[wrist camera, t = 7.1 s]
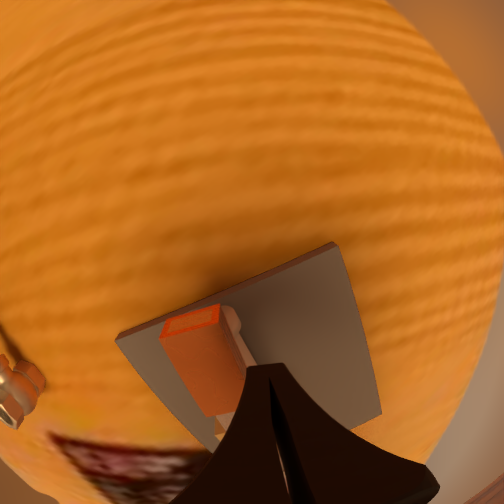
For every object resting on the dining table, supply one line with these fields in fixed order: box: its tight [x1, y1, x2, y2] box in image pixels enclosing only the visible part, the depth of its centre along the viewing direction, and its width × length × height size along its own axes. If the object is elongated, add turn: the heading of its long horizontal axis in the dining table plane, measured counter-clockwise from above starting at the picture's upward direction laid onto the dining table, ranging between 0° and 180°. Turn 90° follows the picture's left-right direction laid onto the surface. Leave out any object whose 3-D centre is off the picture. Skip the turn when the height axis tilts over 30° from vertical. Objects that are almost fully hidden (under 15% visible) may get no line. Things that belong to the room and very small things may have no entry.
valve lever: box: [159, 303, 284, 472], centre depth 12 cm, size 12×3×2 cm, turn 18°
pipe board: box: [115, 242, 382, 478], centre depth 17 cm, size 18×16×5 cm
